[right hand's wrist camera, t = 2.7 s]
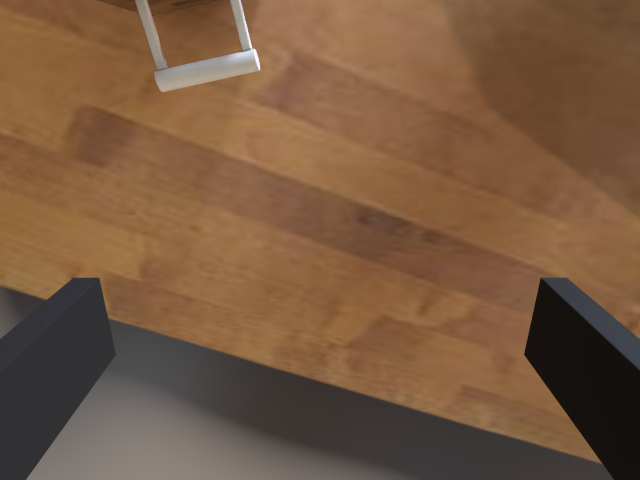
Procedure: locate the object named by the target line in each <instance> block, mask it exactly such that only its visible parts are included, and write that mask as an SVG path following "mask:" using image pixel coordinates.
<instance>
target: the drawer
mask: <svg viewBox="0 0 640 480" xmlns="http://www.w3.org/2000/svg"><path fill="white" fill-rule="evenodd" d="M98 1H101V2H104V3H108V4H111V5H114V6H117V7H120V8H124V9H127V10H130V11H133V12H137V13H139V15H140V18H141V21H142V24H143V27H144V30H145V34H146V37H147V40H148V43H149V46H150V49H151V52H152V55H153V58H154V61H155V65H156V68H157V70H158V71H155V74H154V75H155V81H156V84H157V86H158V88H159V89H160V91H161V92H166V91H170V90H175V89H179V88H184V87H188V86H193V85H197V84H202V83H206V82H211V81H215V80H220V79H225V78H229V77H234V76H238V75H243V74H247V73H252V72H256V71H260V63H259V59H258V55H257V52H256V50H255V49H252V46H251V42H250V37H249V33H248V29H247V25H246V21H245V17H244V12H243V8H242V4H241V0H230V3H231V7H232V11H233V15H234V19H235V23H236V28H237V32H238V36H239V40H240V44H241V48H242V52H238V53H233V54H229V55H224V56H220V57H215V58H211V59H207V60H202V61H198V62H193V63H189V64H184V65H180V66H176V67H171V68H168V66H167V63H166V59H165V56H164V53H163V50H162V47H161V43H160V40H159V37H158V34H157V31H156V27H155V24H154V21H153V18H152V15H156V14H160V13H165V12H169V11H173V10H177V9H182V8H186V7H190V6H194V5H198V4H203V3H207V2H211V1H215V0H98Z"/></svg>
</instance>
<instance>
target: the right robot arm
mask: <svg viewBox="0 0 640 480" xmlns="http://www.w3.org/2000/svg"><path fill="white" fill-rule="evenodd" d="M115 355H116V353H115V348H114V344H113V339H112V335H111V330H110V325H109V321H108V316H107V312H106V307H105V302H104V298H103V293H102V288H101V284H100V279H99V278H73V279H71V280H70V281H69V282H68V283H67V284H65V285H64V286H63V287H62V288H61V289H60V290H58V291H57V292H56V293H55V294H54V295H52V296H51V297H50V298H49V299H48V300H46V301H45V302H44V303H43V304H42V305H41V306H39V307H38V308H37V309H36V310H34V311H33V312H32V313H31V314H30V315H29V316H27V317H26V318H25V319H24V320H23V321H21V322H20V323H19V324H18V325H17V326H15V327H14V328H13V329H12V330H11V331H9V332H8V333H7V334H6V335H5V336H4V337H2V338H1V339H0V480H26V479H27V477H28V476H29V475H30V473H31V472H32V470H33V469H34V468H35V466H36V465H37V463H38V462H39V461H40V459H41V458H42V456H43V455H44V454H45V452H46V451H47V450H48V448H49V447H50V445H51V444H52V443H53V441H54V440H55V438H56V437H57V436H58V434H59V433H60V431H61V430H62V429H63V427H64V426H65V425H66V423H67V422H68V420H69V419H70V418H71V416H72V415H73V413H74V412H75V411H76V409H77V408H78V406H79V405H80V404H81V402H82V401H83V400H84V398H85V397H86V395H87V394H88V393H89V391H90V390H91V388H92V387H93V386H94V384H95V383H96V381H97V380H98V379H99V377H100V376H101V375H102V373H103V372H104V370H105V369H106V368H107V366H108V365H109V363H110V362H111V361H112V359H113V358H114V356H115ZM524 355H525V356H526V358H527V359H528V361H529V362H530V363H531V365H532V366H533V368H534V369H535V370H536V372H537V373H538V375H539V376H540V377H541V379H542V380H543V381H544V383H545V384H546V386H547V387H548V388H549V390H550V391H551V393H552V394H553V395H554V397H555V398H556V400H557V401H558V402H559V404H560V405H561V406H562V408H563V409H564V411H565V412H566V413H567V415H568V416H569V418H570V419H571V420H572V422H573V423H574V425H575V426H576V427H577V429H578V430H579V431H580V433H581V434H582V436H583V437H584V438H585V440H586V441H587V443H588V444H589V445H590V447H591V448H592V450H593V451H594V452H595V454H596V455H597V457H598V458H599V459H600V461H601V462H602V463H603V465H604V466H605V468H606V469H607V470H608V472H609V473H610V475H611V476H612V477H613V479H614V480H640V339H639V338H638V337H637V336H635V335H634V334H633V333H632V332H631V331H629V330H628V329H627V328H626V327H625V326H623V325H622V324H621V323H620V322H619V321H617V320H616V319H615V318H614V317H613V316H611V315H610V314H609V313H608V312H607V311H606V310H604V309H603V308H602V307H601V306H600V305H598V304H597V303H596V302H595V301H594V300H592V299H591V298H590V297H589V296H588V295H586V294H585V293H584V292H583V291H582V290H580V289H579V288H578V287H577V286H576V285H575V284H573V283H572V282H571V281H570V280H569V279H567V278H541V279H540V284H539V288H538V293H537V298H536V302H535V307H534V312H533V316H532V321H531V325H530V330H529V335H528V339H527V344H526V348H525V353H524Z"/></svg>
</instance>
